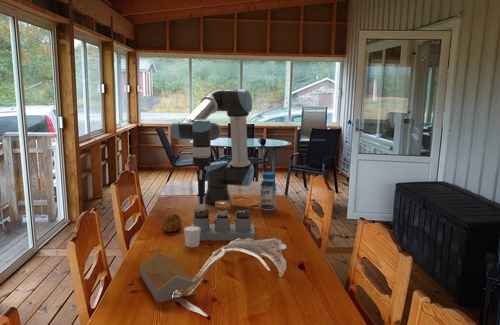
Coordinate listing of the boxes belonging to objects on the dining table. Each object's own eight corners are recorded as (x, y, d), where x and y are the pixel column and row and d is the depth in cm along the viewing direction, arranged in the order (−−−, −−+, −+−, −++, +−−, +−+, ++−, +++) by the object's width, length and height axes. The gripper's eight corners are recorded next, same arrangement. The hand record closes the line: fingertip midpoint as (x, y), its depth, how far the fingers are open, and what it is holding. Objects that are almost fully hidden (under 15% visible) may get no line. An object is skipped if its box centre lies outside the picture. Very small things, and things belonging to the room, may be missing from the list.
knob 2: (235, 224, 173) (235, 208, 172) (249, 225, 174) (250, 209, 173) (235, 229, 167) (236, 213, 166) (250, 229, 168) (250, 213, 166)
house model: (196, 294, 120) (196, 271, 119) (156, 304, 114) (155, 280, 113) (175, 269, 137) (175, 249, 136) (139, 276, 131) (138, 255, 130)
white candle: (194, 240, 164) (194, 224, 163) (204, 245, 159) (204, 228, 158) (180, 244, 159) (180, 228, 158) (190, 249, 154) (190, 232, 153)
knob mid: (215, 216, 172) (215, 200, 171) (229, 216, 173) (230, 200, 171) (214, 221, 166) (214, 204, 165) (229, 221, 166) (230, 204, 165)
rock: (160, 238, 177) (162, 218, 183) (179, 239, 180) (180, 220, 185) (163, 227, 169) (165, 207, 174) (182, 229, 171) (184, 209, 177)
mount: (191, 230, 176) (191, 212, 174) (253, 230, 177) (253, 212, 176) (188, 240, 164) (188, 220, 163) (255, 240, 165) (255, 221, 164)
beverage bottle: (278, 209, 212) (279, 173, 209) (266, 211, 207) (267, 174, 204) (269, 205, 219) (270, 170, 216) (257, 207, 214) (257, 172, 211)
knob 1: (195, 224, 173) (194, 208, 171) (209, 224, 173) (209, 208, 172) (193, 229, 166) (193, 212, 165) (208, 229, 167) (208, 213, 165)
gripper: (194, 154, 171) (194, 206, 174) (191, 158, 158) (191, 214, 162) (211, 154, 171) (211, 206, 175) (209, 158, 158) (209, 214, 162)
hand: (201, 210), depth 168 cm, fingers closed
